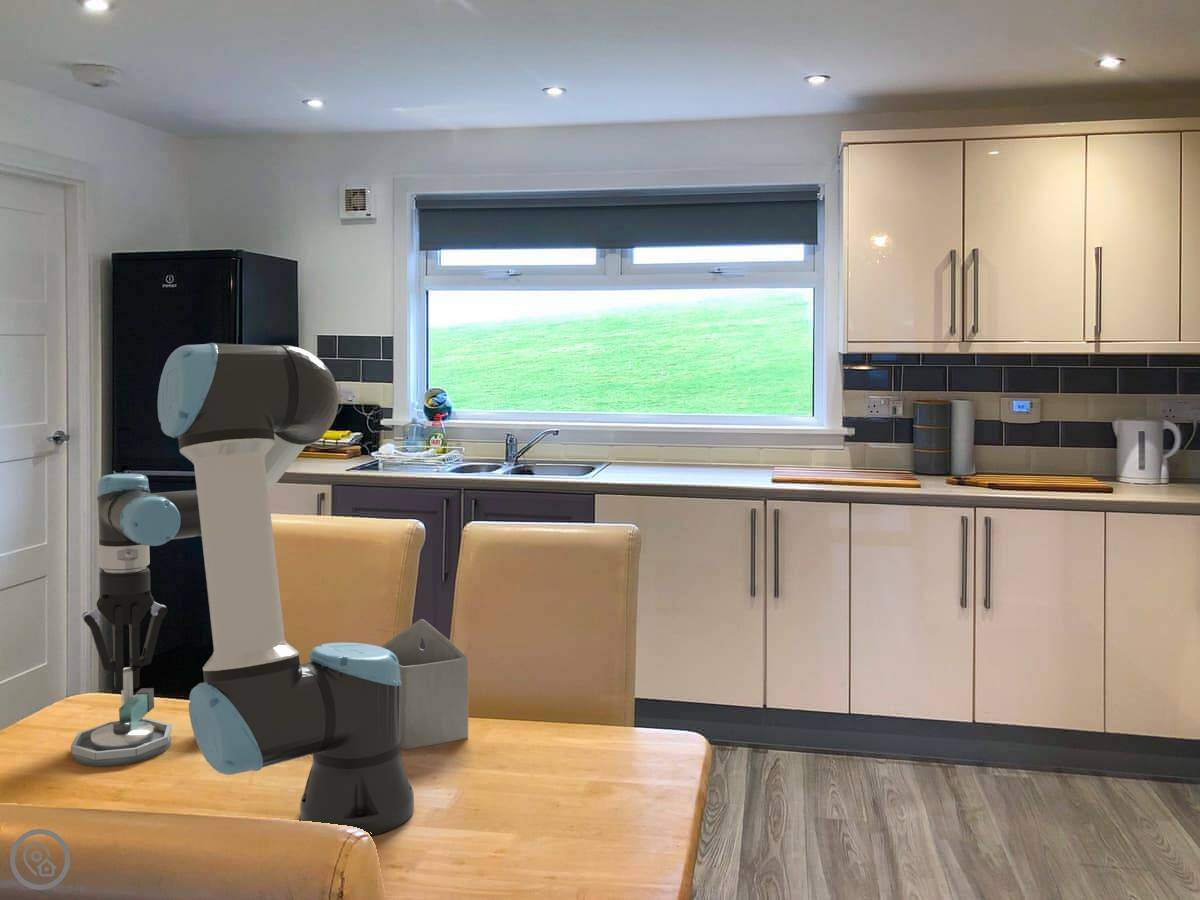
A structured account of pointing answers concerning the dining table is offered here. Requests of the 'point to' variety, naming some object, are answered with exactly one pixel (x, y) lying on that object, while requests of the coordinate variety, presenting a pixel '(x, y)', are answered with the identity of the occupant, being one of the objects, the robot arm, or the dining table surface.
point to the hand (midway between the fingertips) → (127, 707)
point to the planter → (430, 687)
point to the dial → (127, 725)
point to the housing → (103, 758)
